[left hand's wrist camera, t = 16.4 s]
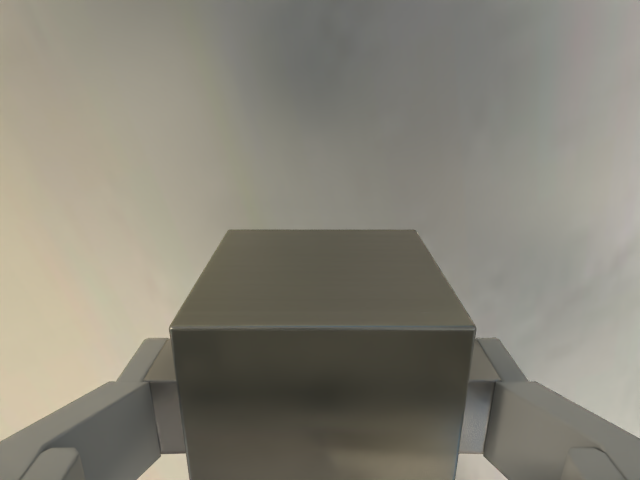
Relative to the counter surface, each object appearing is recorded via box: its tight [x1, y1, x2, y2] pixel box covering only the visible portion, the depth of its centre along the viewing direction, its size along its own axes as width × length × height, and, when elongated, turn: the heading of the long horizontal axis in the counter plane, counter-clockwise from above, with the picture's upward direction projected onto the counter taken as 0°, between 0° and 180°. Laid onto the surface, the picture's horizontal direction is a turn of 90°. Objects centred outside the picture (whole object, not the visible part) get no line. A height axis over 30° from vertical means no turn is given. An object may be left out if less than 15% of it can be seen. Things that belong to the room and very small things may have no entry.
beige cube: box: [169, 230, 476, 480], centre depth 10 cm, size 5×5×5 cm
